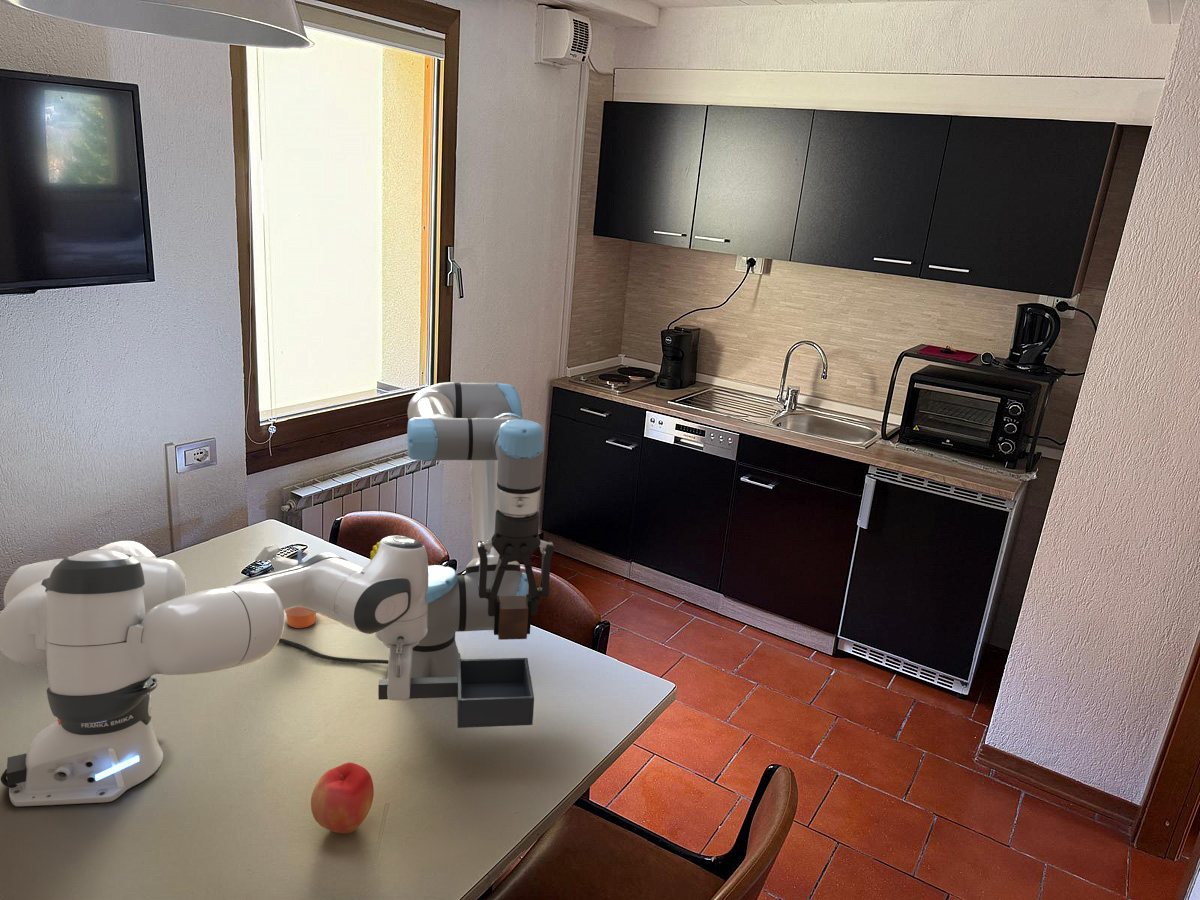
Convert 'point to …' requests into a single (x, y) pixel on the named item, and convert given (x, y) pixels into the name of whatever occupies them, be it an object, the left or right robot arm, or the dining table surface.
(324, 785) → the apple
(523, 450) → the right robot arm
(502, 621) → the walnut block
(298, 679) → the dining table surface
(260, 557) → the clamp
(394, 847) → the dining table surface
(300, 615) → the cup with straw
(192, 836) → the dining table surface
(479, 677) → the scoop
